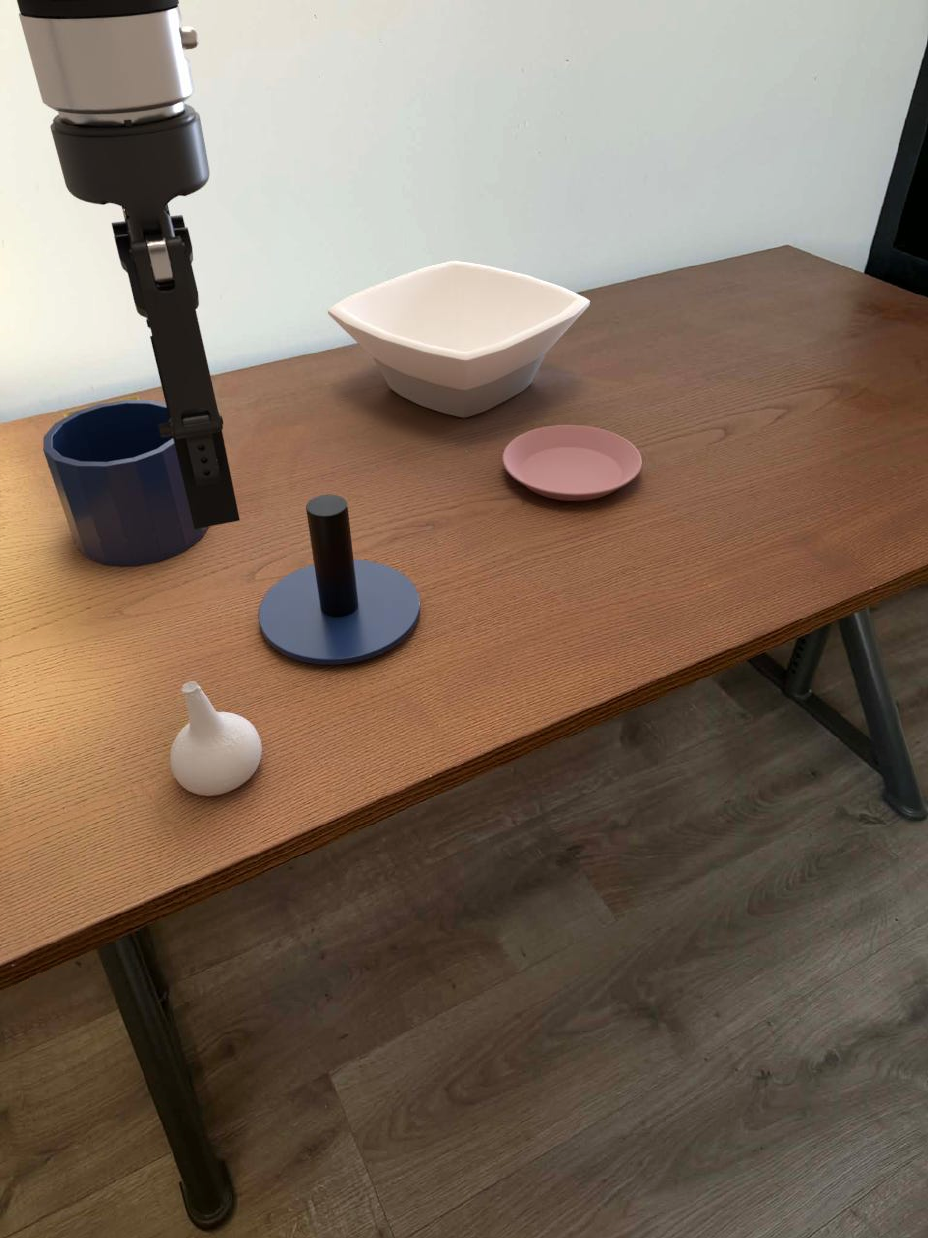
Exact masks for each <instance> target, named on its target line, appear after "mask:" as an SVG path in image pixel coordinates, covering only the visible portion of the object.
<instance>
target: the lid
mask: <svg viewBox="0 0 928 1238" xmlns="http://www.w3.org/2000/svg"><path fill="white" fill-rule="evenodd" d="M305 511H306V517H307V524H308V525H307V526H308V532H309V539H310V545H311V553H312V559H313V564H310V565H306V566H304V567H301V568H299V569H296V570H294V571H293V572H291V573H289V574H287V575H286V576H284V577H283V578H281V579H279V580H278V581H277V582H275V584H274V585H272V586H271V588H269V589H268V591H267V592H266V593H265V595H264V596H263V598H262V600H261V602H260V604H259V608H258V613H257V619H258V625H259V629H260V632H261V634H262V636H263V637H264V639H265V640H266V642H267V643H268V644H269V645H270V646H271V648H274V649H275V650H276V651H278V653H280V654H283V655H284V656H286V657H288V658H290V659H293V660H296V661H300V662H304V663H307V664H308V663H309V664H313V665H325V666H326V665H343V664H345V665H347V664H352V663H357V662H362V661H366V660H368V659H372V658H374V657H377V656H380V655H382V654H384V653H386V652H388V651H390V650H392V649H393V648H394V647H396V646H398V645H399V644H400V643H402V642H403V641H404V640H405V639H406V638H407V637H408V636H409V635H410V634H411V632H412V631H413V630H414V628H415V627H416V625H417V622H418V621H419V616H420V614H421V599H420V595H419V593H418V589H417V588H416V586H415V585H414V583H413V582H412V581H411V580H410V579H409V577H407V576H406V575H404V573H402V572H401V571H398V570H397V569H395V568H393V567H391V566H388V565H386V564H383V563H380V562H375V561H372V560H364V559H354V552H353V551H354V550H353V543H352V542H353V541H352V533H351V525H350V516H349V515H350V514H349V505H348V501H347V500H346V499H345V498H344V497H343V496H341V495H336V494H322V495H318V496H314V497H313V498H311V499H310V500H308V502H307V503H306V505H305Z"/></svg>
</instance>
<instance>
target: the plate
mask: <svg viewBox="0 0 928 1238" xmlns="http://www.w3.org/2000/svg"><path fill="white" fill-rule="evenodd" d="M501 460H502V464H503V466H504V469H505V470H506V471H507V473H508V474H509V475H510V477H512V479H514V480H516V481H517V482H519V483H520V484H522V485H523V486H524V487H525V488H527V489H528V490H529V491H531V492H532V493H535V494H536V495H540V496H542V497H545V498H549V499H552V500H556V501H565V502H582V501H583V502H584V501H590V500H591V501H592V500H597V499H599V498H603V497H605V496H608V495H610V494H612V493H613V492H615V491H617V490H619V489H620V488H622V487H624V486H626V485H628V484H629V483H630V482H632V481H633V480H635V478H636V477H637V476H638V475H639V474H640V471H641V469H642V465H643V461H642V460H643V459H642V455H641V453H640V451H639V450H638V448H637V447H636V446H635V445H634V444H633V443H632V442H630V441H629V440H627V439H626V438H624V437H623V436H621V435H619V434H616V433H615V432H612V431H609V430H606V429H602V428H598V427H594V426H588V425H580V424H579V425H578V424H558V425H549V426H542V427H538V428H534V429H532V430H529V431H526V432H524V433H521V434H520V435H518V436H516V437H515V438H514V439H512V440H510V442H509V443H508V444H507V445H506V447H505V448H504V450H503V453H502V459H501Z"/></svg>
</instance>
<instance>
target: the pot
mask: <svg viewBox="0 0 928 1238" xmlns="http://www.w3.org/2000/svg"><path fill="white" fill-rule="evenodd" d="M109 402H110V403H107V402H103V403H99V404H94V405H95V406H94V405H91V406H92V407H90V406H88V407H89V408H86V409H83V410H80V411H77V412H74V413H72V414H70V415H69V416H67V417H65V418H64V417H63V418H62V419H60V420H58V421H56V422H55V423H54V424H53V425H52V426H51V427H50V429H49V430H48V431H47V432H46V433H45V434H44V435H43V438H42V439H43V441H42V451H43V453H44V454H43V455H44V456H45V459H46V462H47V465H48V469H49V471H50V475H51V477H52V480H53V483H54V486H55V489H56V492H57V496H58V498H59V502H60V504H61V507H62V510H63V513H64V515H65V519H66V522H67V524H68V528H69V530H70V533H71V536H72V540H73V543H74V544H75V546H76V547H77V549H78V551H79V552H80V553H81V554H82V555H83V556H84V557H85V558H87V559H89V560H91V561H93V562H95V563H97V564H102V565H107V566H112V567H113V566H114V567H135V566H143V565H149V564H152V563H159V562H160V561H164V560H167V559H170V558H173V557H175V556H177V555H179V554H181V553H183V552H185V551H187V550H188V549H191V548H192V547H193V546H194V545H196V544H197V543H198V542H199V541H200V540H201V539H202V538H203V537H204V535H205V534H206V532H207V531H208V529H209V527H204V528H199V529H194V524H193V520H192V516H191V512H190V508H189V503H188V499H187V495H186V491H185V486H184V482H183V478H182V474H181V469H180V465H179V461H178V457H177V453H176V448H175V444H174V440H173V436H168V437H162V438H161V434H160V430H159V426H158V424H160V423H166V422H169V420H170V419H169V415H168V411H167V407H166V402H163V401H158V400H154V399H140V400H123V401H116V402H111V401H109Z"/></svg>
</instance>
